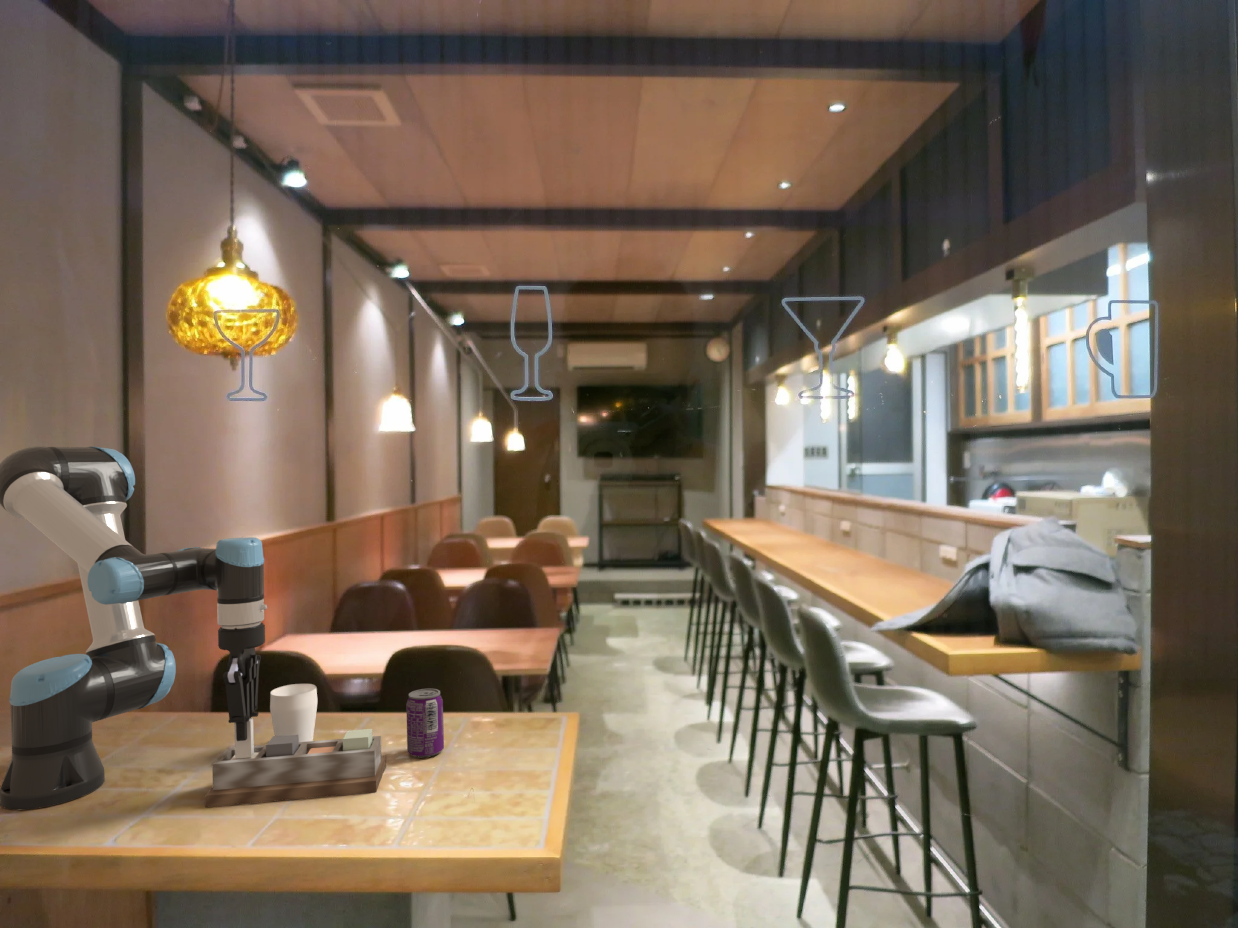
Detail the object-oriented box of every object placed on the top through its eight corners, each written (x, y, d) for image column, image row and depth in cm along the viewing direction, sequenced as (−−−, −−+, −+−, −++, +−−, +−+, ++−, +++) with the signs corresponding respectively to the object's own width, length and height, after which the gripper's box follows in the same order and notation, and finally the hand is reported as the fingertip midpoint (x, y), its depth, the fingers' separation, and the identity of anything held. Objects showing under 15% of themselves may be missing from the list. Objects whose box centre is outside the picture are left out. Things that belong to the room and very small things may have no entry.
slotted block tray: (205, 807, 128) (204, 769, 128) (229, 778, 140) (229, 743, 140) (376, 791, 133) (375, 754, 133) (386, 765, 144) (385, 731, 144)
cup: (307, 755, 150) (305, 695, 150) (262, 756, 151) (261, 696, 151) (325, 739, 159) (324, 682, 159) (283, 740, 160) (282, 683, 160)
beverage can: (448, 746, 154) (447, 687, 154) (437, 760, 147) (435, 698, 147) (415, 746, 154) (413, 687, 154) (401, 759, 147) (400, 698, 147)
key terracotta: (305, 773, 134) (305, 757, 134) (311, 764, 139) (310, 748, 139) (331, 771, 135) (330, 755, 135) (336, 762, 139) (335, 746, 139)
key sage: (343, 755, 135) (342, 738, 135) (347, 746, 140) (347, 730, 140) (368, 753, 136) (368, 736, 136) (372, 744, 140) (372, 728, 140)
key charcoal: (266, 761, 133) (266, 744, 133) (273, 752, 138) (273, 736, 138) (292, 759, 134) (292, 742, 134) (298, 750, 138) (298, 734, 138)
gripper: (252, 630, 129) (255, 768, 129) (274, 616, 142) (277, 741, 142) (205, 633, 128) (208, 772, 128) (231, 618, 141) (234, 744, 140)
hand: (244, 756), depth 135 cm, fingers closed
